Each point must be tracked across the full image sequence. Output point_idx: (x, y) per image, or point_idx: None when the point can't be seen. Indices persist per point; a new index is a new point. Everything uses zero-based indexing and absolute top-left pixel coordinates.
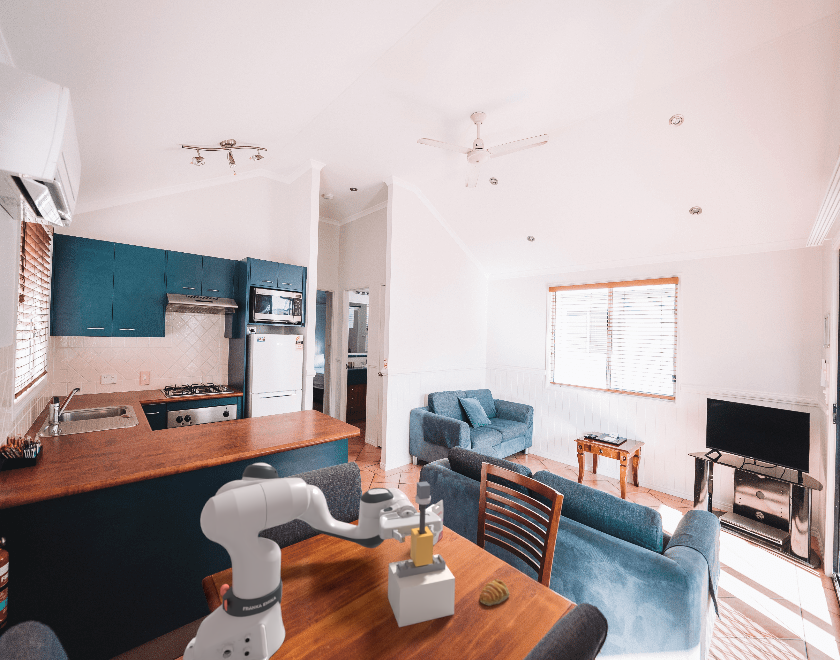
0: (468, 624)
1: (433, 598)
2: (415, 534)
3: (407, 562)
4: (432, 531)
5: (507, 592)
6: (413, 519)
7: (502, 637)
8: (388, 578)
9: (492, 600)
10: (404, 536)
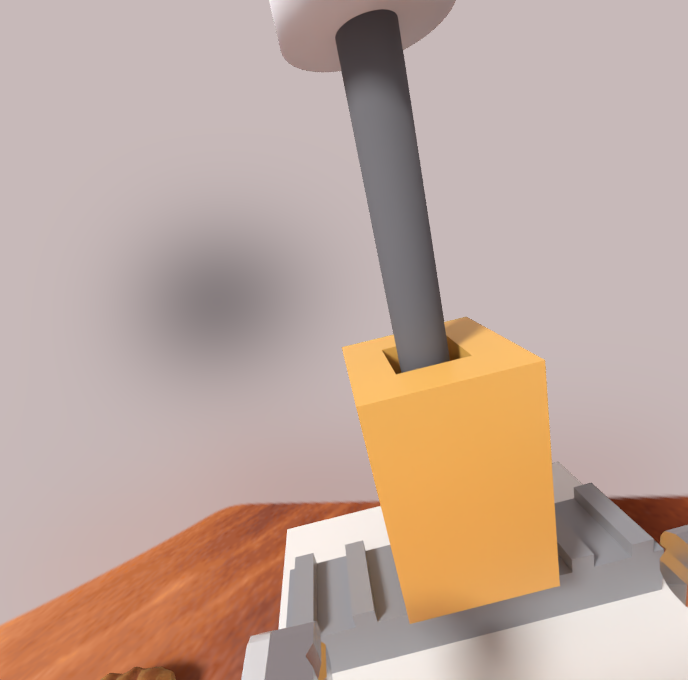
0: None
1: None
2: (480, 329)
3: (565, 536)
4: (267, 652)
5: None
6: None
7: (235, 540)
8: None
9: (143, 669)
10: (681, 533)
